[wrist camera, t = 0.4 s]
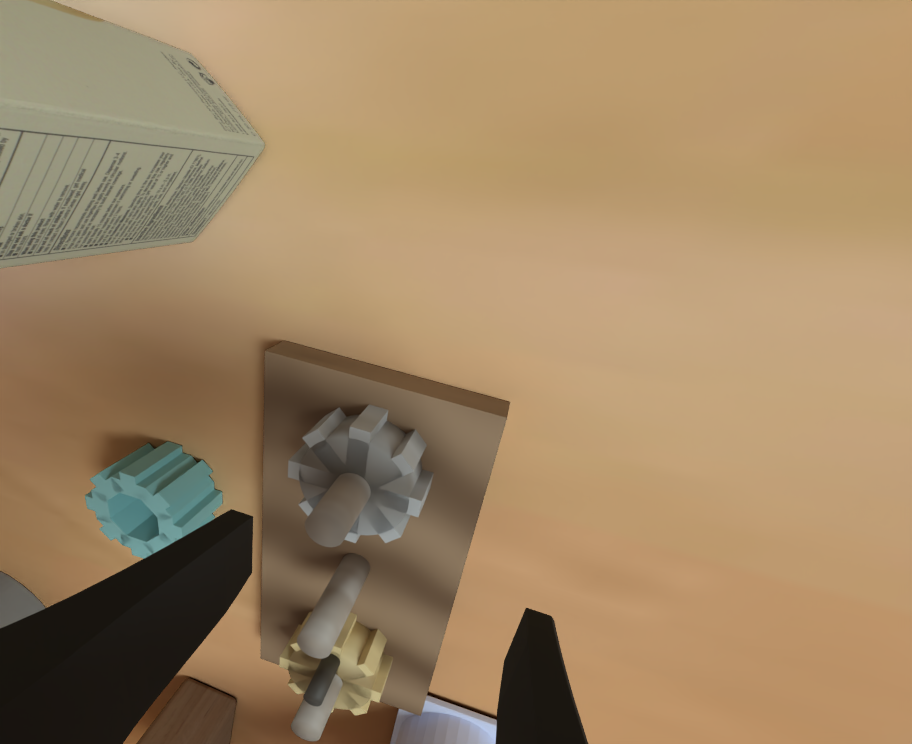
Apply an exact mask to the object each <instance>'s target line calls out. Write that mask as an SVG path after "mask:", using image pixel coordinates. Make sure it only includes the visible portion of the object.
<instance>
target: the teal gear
mask: <svg viewBox="0 0 912 744" xmlns="http://www.w3.org/2000/svg"><path fill="white" fill-rule="evenodd" d="M212 472H213V471H212V470H211V469H210V468H209V466H208V465H207V464H206V463H205V462H204V461H203V460H201V461H200V462H198V463H197V462H196V461H195V460H194V458H193V457H192V456H191V455H188V454H184V453H182V446H181V445H178V444H175V443H172V442H168V441H167V442H166V443H164V444H163V445H161V446H159V447H157V448H156V449H154V448H153V447H152V446H151V445H150V444H149V443H148V444H146V445H144V446H143V447H141V448H139V449H138V450H136V451H134V452H133V453H131V454H129V455H128V456H126V457H124V458H123V459H121V460H119V461H118V462H116V463H115V464H113V465H111V466H110V467H108V468H106V469H105V470H103V471H101V472H100V473H98V474H97V475H95V476H94V477H92V478H91V479H90V480H91V482H92V483H93V484H94V485H95V486H96V487H95V488H94V489H92V490H91V492H90V493H88V494H86V495H85V500H86V504H87V509H90V510H93V511H95V512H96V517H97V519H98V520H99V521H100V522H101V524H102V525H103V527H101V528H100V530H101V531H102V532H103V533H104V534H105V535H106V536H107V537H108V538H109V539H110V540H113V539H115V538H116V539H117V540H118V541H119V542H120V543H121V544H122V545H124V546H127V547H129V548H131V550H132V555H135V556H138V557H141V558H146V557H148V556H150V555H152V554H153V553H155V552H157V551H159V550H161V549H163V548H164V547H166V546H168V545H170V544H171V543H173V542H175V541H177V540H178V539H180V538H182V537H184V536H186V535H187V534H189V533H191V532H192V531H194V530H196V529H198V528H199V527H201V526H203V525H205V524H206V523H208V522H210V521H212V520H213V519H214V518H215V516H214V515H213V514H212V513H213V512H214V511H215V510H216V509H217V508H218V507H219V506H220V505H221V504H222V492H221V491H218V490H215V489H214V481H213V480H212V479H211V478H210V477H209V476H208V475H210V474H211V473H212Z"/></svg>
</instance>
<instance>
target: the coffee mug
mask: <svg viewBox="0 0 912 744" xmlns="http://www.w3.org/2000/svg"><path fill="white" fill-rule="evenodd" d="M43 609H45V607H44V605H43V604H42V603H41V602H40V601H39V599H38V598H37V597H36V596H35V595H34V594H32V593H31V592H30V591H29V590H28V589H26V588H25V587H24V586H23V585H22V584H20V583H19V582H18V581H16V580H15V579H13V578H12V577H10V576H9V575H7V574H5V573H3V572H1V571H0V628H2V627H5V626H7V625H9V624H12V623H14V622H16V621H19V620H21V619H23V618H25V617H28V616H30V615H32V614H34V613H37V612H39V611H41V610H43Z"/></svg>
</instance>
